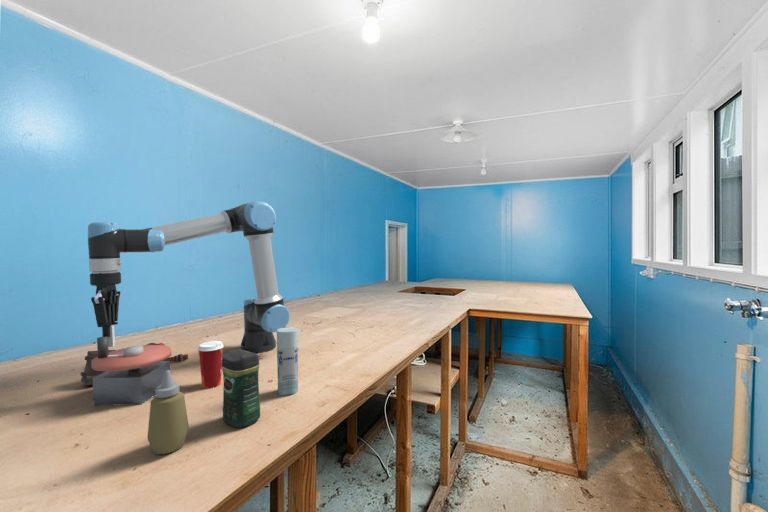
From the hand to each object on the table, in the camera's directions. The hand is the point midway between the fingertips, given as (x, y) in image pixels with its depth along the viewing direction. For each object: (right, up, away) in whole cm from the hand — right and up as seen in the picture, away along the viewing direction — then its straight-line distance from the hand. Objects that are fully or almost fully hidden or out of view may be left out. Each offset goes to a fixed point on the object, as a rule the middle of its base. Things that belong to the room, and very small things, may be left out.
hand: (108, 346), depth 106 cm
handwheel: (+8, -7, -1) cm, 11 cm away
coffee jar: (+49, -16, -16) cm, 54 cm away
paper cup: (+29, -15, +6) cm, 33 cm away
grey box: (+8, -15, 0) cm, 17 cm away
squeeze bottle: (+37, -16, -28) cm, 49 cm away
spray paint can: (+56, -15, +1) cm, 58 cm away
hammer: (-3, -15, +19) cm, 24 cm away
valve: (-20, -15, +33) cm, 41 cm away
